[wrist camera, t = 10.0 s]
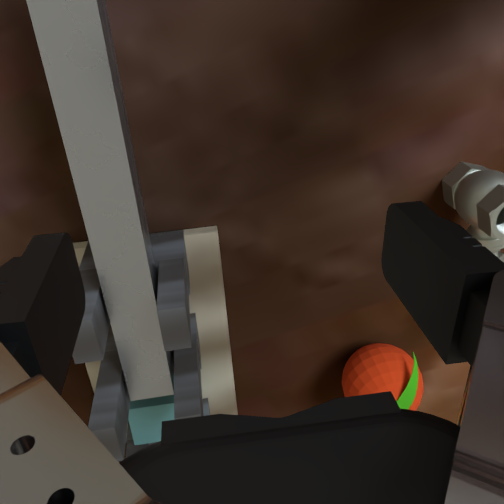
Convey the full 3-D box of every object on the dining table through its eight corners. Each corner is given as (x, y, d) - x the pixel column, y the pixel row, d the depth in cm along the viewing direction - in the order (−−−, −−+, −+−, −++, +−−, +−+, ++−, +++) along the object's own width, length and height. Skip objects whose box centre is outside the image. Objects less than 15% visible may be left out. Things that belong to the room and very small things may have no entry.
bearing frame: (53, 245, 35) (4, 347, 25) (216, 225, 36) (233, 316, 26) (110, 432, 44) (91, 560, 34) (237, 412, 45) (254, 530, 36)
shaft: (1, -120, 22) (-37, -144, 18) (99, -124, 22) (83, -148, 18) (125, 366, 36) (119, 410, 32) (183, 357, 36) (184, 400, 33)
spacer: (125, 409, 36) (134, 445, 38) (191, 400, 36) (197, 435, 38) (130, 368, 40) (138, 403, 42) (189, 360, 40) (194, 394, 42)
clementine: (358, 310, 42) (391, 365, 36) (422, 327, 44) (463, 382, 38) (319, 376, 45) (342, 437, 39) (380, 390, 47) (411, 450, 41)
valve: (418, 173, 36) (435, 293, 42) (465, 207, 31) (477, 341, 37) (500, 144, 36) (506, 269, 42) (562, 173, 30) (559, 312, 36)
